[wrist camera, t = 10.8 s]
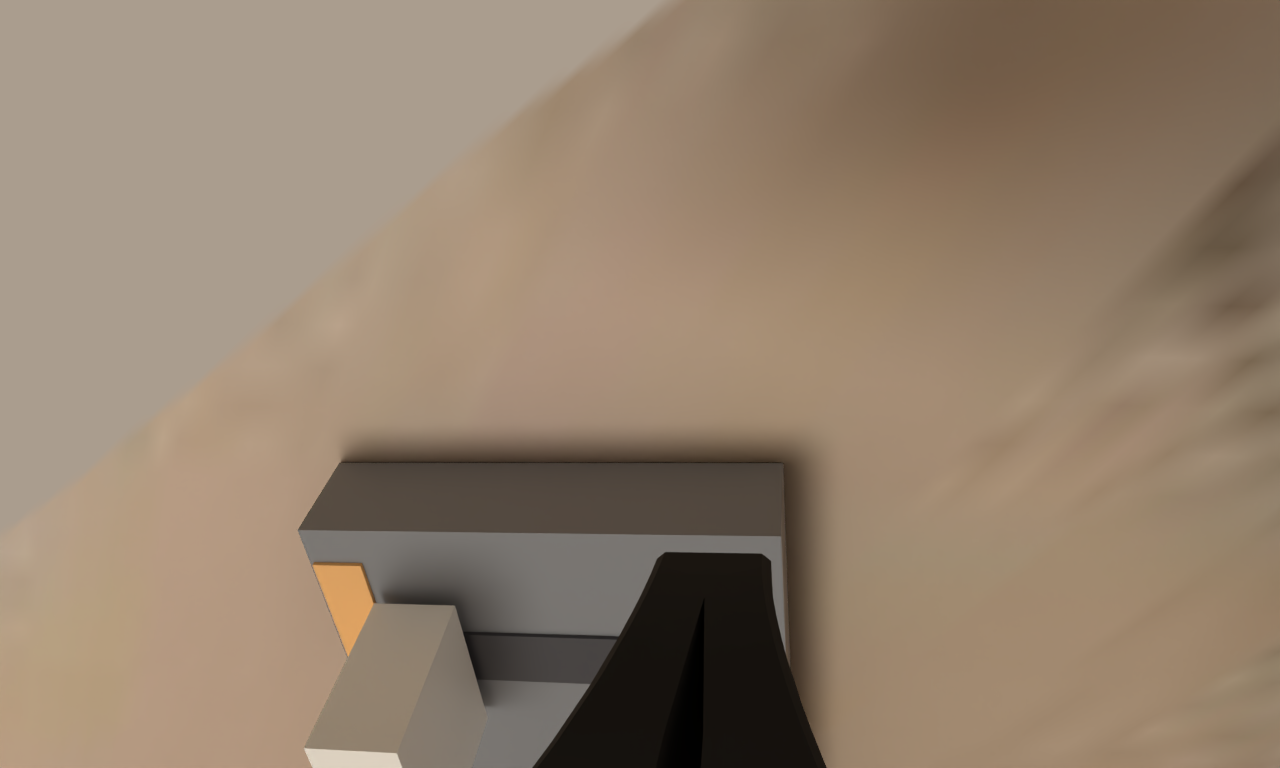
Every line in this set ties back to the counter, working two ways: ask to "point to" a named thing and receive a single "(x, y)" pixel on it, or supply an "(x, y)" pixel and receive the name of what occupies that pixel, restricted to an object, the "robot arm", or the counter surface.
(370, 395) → the counter surface
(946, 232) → the counter surface
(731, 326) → the counter surface
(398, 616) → the block
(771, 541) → the board
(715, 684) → the robot arm
